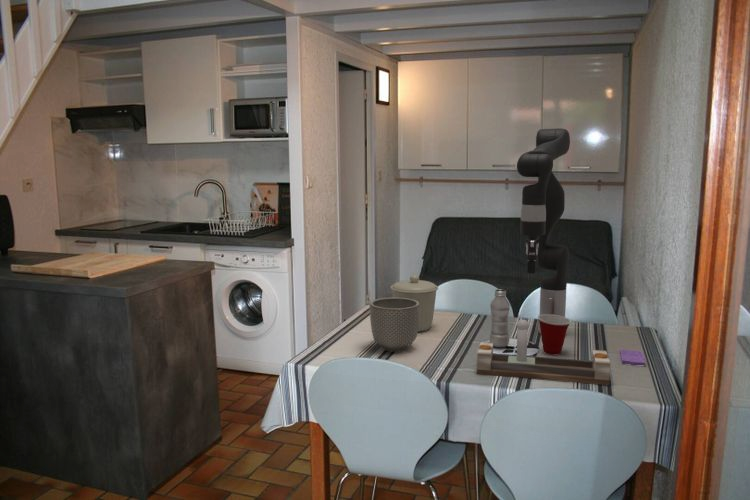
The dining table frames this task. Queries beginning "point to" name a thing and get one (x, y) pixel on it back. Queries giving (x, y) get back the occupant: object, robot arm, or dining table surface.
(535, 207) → the robot arm
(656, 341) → the dining table surface
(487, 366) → the rail track
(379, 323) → the planter
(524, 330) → the carriage
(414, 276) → the canister
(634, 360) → the sponges
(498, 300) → the plastic bottle
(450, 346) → the dining table surface
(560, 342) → the plastic cup
